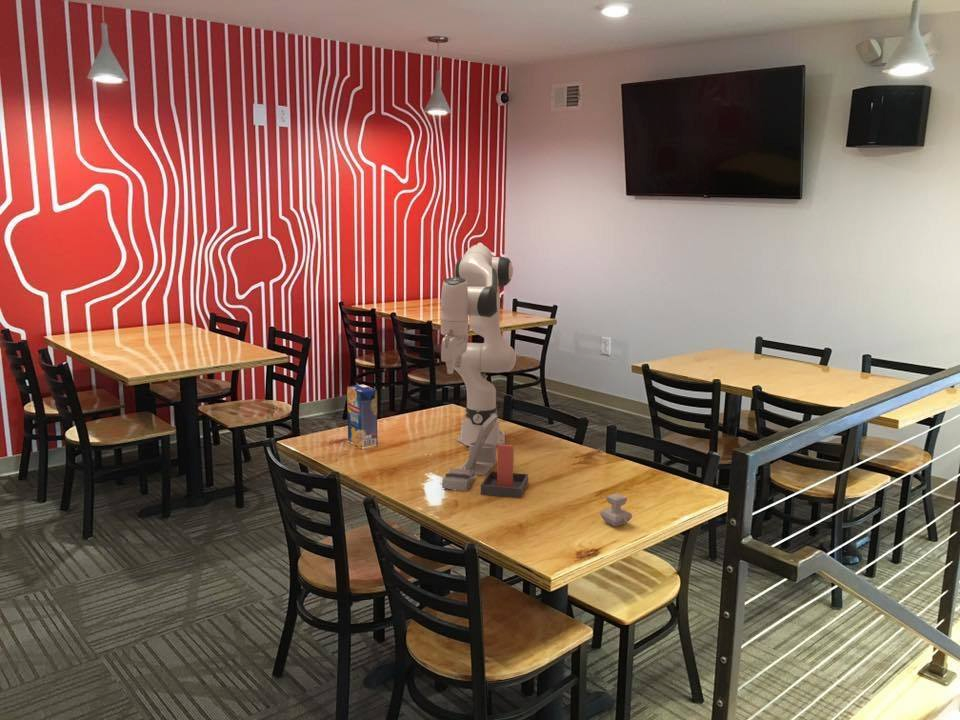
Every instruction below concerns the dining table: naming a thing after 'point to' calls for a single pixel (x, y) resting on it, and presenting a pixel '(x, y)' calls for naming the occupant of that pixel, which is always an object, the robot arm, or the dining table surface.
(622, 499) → the stamp
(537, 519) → the dining table surface
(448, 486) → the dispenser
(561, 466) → the dining table surface
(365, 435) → the beverage box
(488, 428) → the phone holder
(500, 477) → the ticket
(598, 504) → the dining table surface
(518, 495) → the tray
